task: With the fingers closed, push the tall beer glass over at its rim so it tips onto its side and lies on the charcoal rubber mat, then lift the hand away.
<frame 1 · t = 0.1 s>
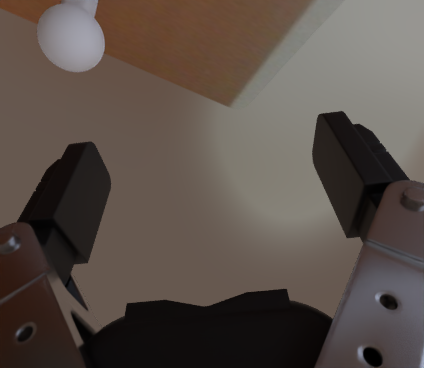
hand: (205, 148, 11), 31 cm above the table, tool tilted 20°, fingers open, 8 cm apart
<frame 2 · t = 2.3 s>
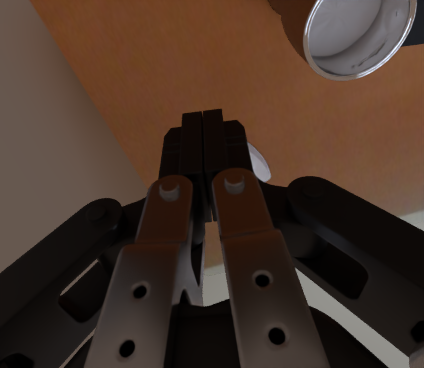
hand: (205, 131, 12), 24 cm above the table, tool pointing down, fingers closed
joystick: (230, 158, 44), on the table
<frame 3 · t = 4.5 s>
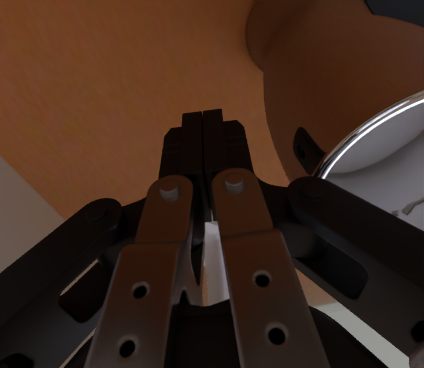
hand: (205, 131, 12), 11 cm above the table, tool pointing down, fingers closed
joystick: (210, 232, 34), on the table
beer glass: (290, 28, 19), on the table, touching gripper
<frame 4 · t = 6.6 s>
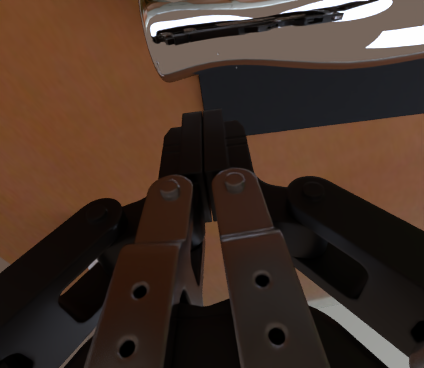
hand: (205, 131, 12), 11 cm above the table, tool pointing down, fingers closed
mat: (338, 24, 19), on the table
beer glass: (153, 24, 16), point 3 cm above the table, touching mat
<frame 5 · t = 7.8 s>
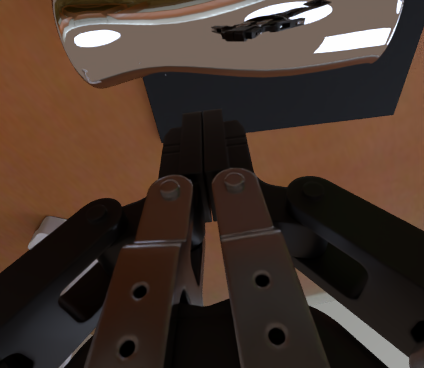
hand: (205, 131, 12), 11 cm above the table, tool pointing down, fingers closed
joystick: (85, 245, 35), on the table
mat: (277, 29, 19), on the table
beer glass: (83, 32, 16), point 3 cm above the table, touching mat
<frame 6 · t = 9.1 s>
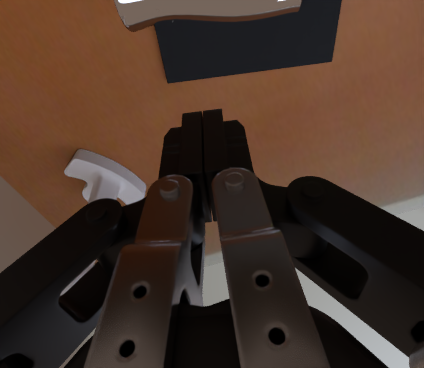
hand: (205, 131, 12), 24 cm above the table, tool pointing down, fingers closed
joystick: (106, 177, 45), on the table
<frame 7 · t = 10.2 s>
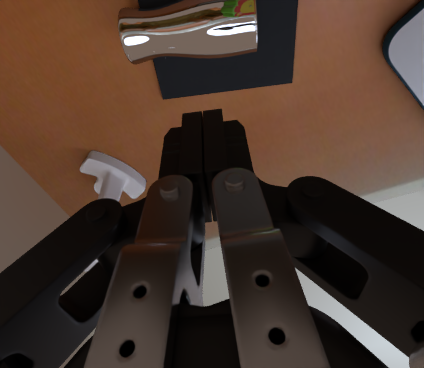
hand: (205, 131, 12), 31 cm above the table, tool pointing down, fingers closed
joystick: (113, 174, 54), on the table
mat: (221, 35, 38), on the table
beer glass: (127, 37, 35), point 3 cm above the table, touching mat
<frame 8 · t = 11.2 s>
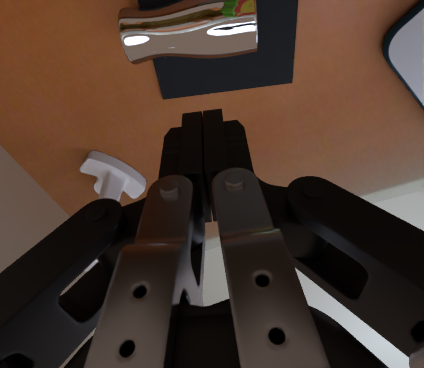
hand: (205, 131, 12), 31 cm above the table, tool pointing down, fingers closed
joystick: (113, 174, 54), on the table
mat: (221, 35, 38), on the table
beer glass: (127, 37, 35), point 3 cm above the table, touching mat
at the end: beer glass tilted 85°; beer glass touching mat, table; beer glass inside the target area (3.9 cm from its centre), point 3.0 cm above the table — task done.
